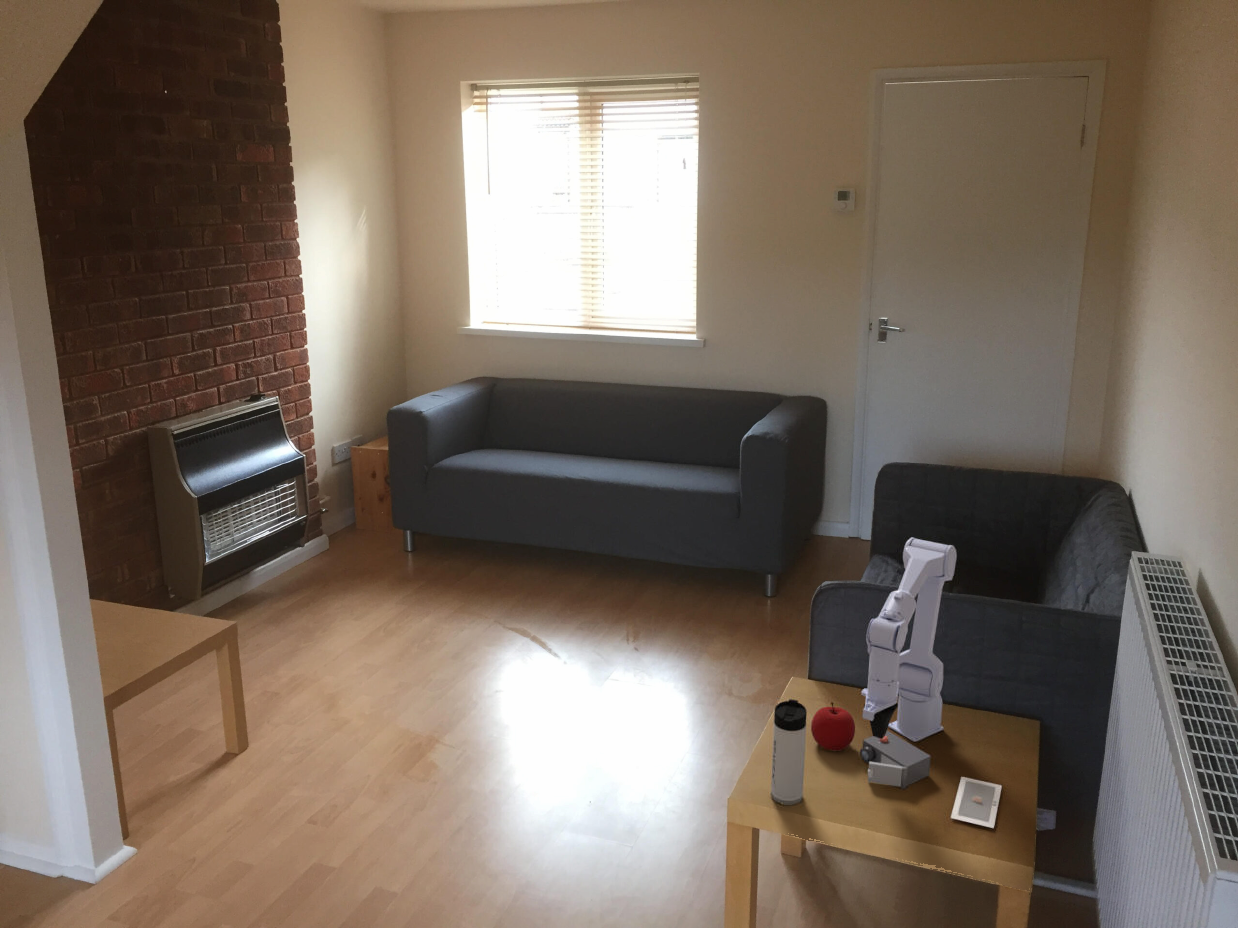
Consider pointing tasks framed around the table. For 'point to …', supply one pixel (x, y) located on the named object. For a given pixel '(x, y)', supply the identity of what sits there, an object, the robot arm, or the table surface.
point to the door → (887, 774)
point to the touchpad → (976, 802)
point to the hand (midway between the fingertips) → (878, 735)
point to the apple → (833, 728)
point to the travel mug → (788, 752)
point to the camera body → (897, 755)
